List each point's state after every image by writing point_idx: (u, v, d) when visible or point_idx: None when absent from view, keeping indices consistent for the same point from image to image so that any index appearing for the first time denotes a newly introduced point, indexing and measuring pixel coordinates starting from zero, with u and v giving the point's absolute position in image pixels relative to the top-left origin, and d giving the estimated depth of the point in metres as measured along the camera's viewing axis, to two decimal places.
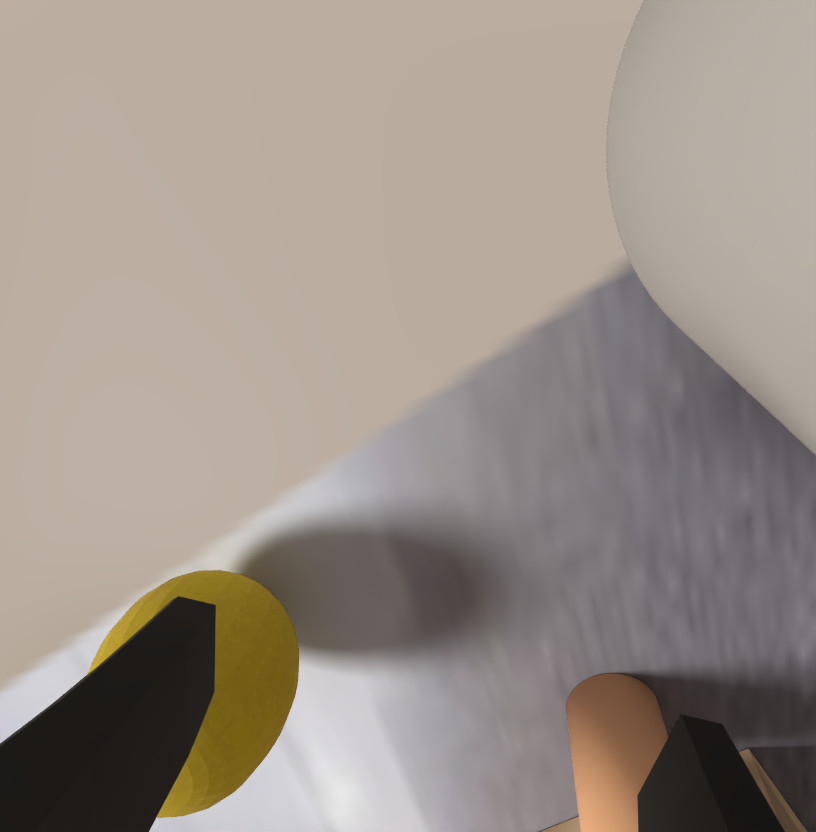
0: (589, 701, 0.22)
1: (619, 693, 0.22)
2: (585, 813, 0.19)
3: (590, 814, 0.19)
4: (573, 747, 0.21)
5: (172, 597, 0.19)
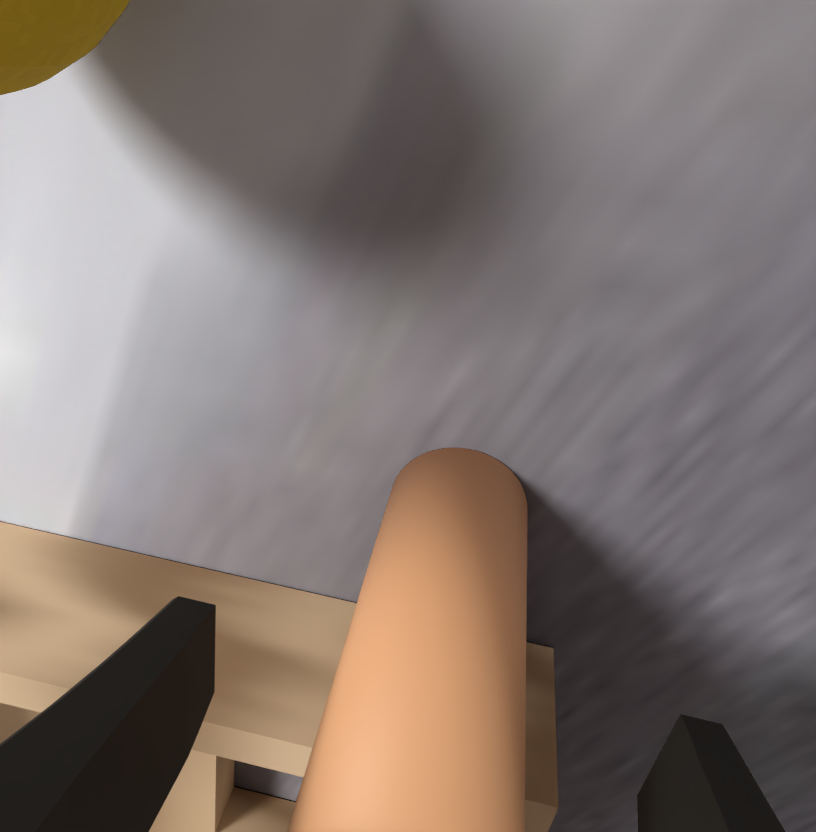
0: (462, 474, 0.14)
1: (507, 493, 0.14)
2: (390, 602, 0.11)
3: (402, 609, 0.11)
4: (404, 512, 0.13)
5: None
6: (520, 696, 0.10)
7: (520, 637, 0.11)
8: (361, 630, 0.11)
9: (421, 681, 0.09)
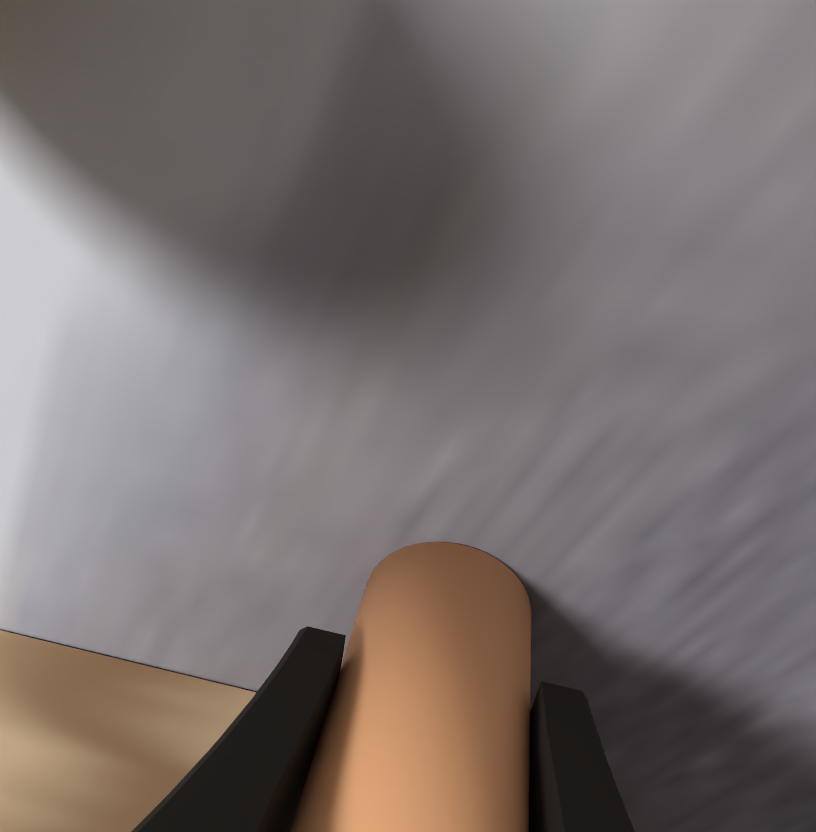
0: (450, 583, 0.11)
1: (506, 605, 0.11)
2: (346, 792, 0.08)
3: (361, 807, 0.08)
4: (375, 637, 0.10)
5: None
6: None
7: (520, 831, 0.08)
8: (307, 831, 0.08)
9: None
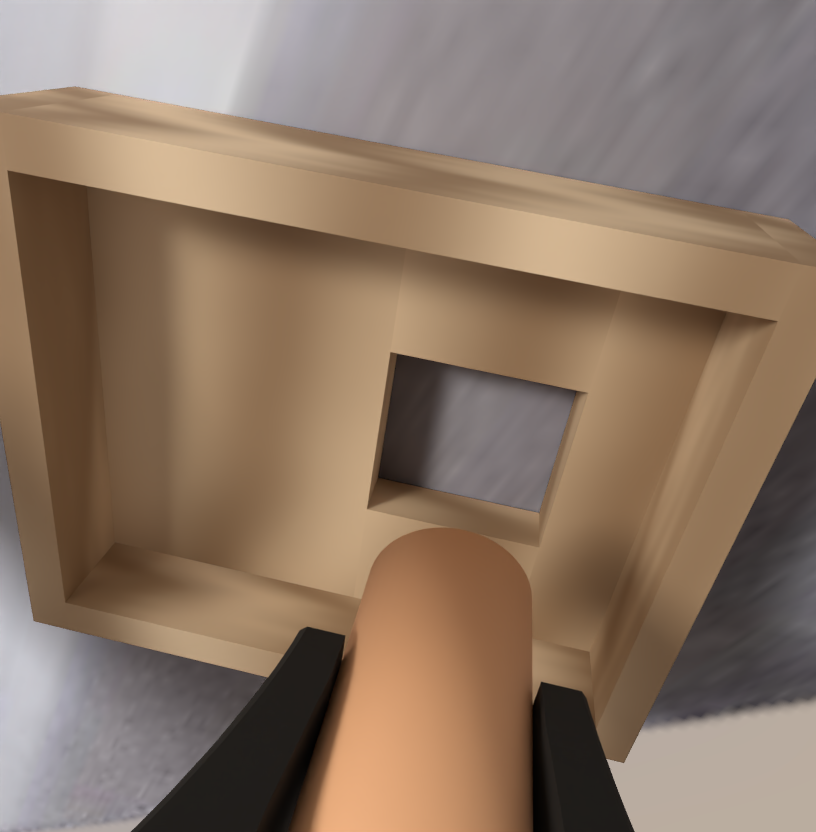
0: (456, 565, 0.11)
1: (510, 589, 0.11)
2: (358, 755, 0.08)
3: (373, 768, 0.08)
4: (382, 614, 0.10)
5: None
6: None
7: (527, 801, 0.09)
8: (319, 792, 0.08)
9: None
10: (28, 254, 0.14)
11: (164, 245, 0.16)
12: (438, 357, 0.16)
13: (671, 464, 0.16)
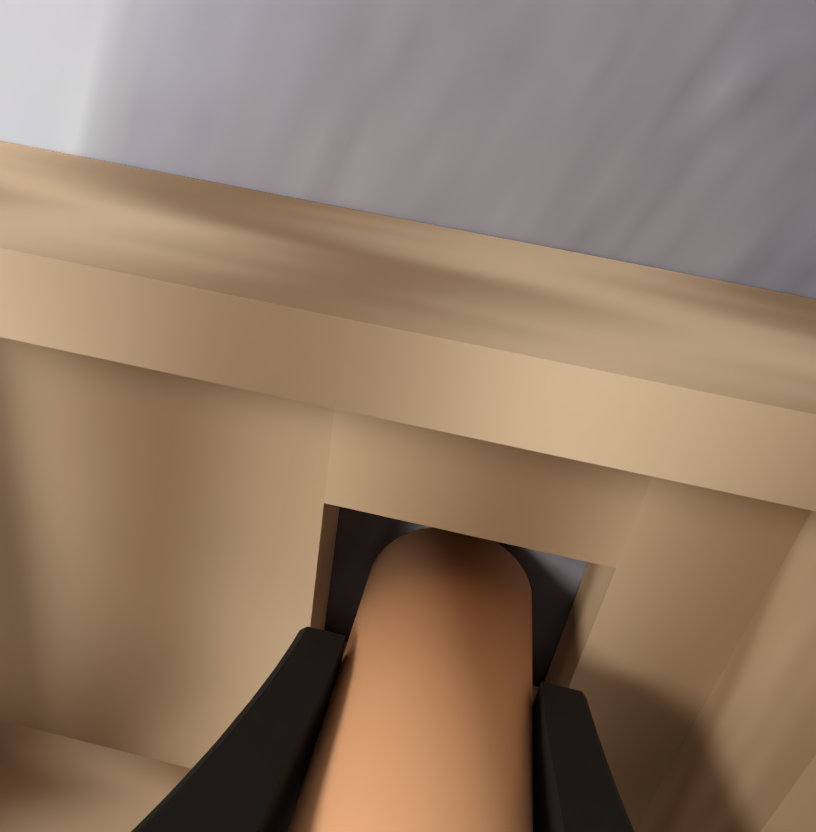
0: (456, 565, 0.11)
1: (510, 589, 0.11)
2: (359, 754, 0.08)
3: (374, 767, 0.08)
4: (382, 613, 0.11)
5: None
6: None
7: (526, 800, 0.09)
8: (319, 791, 0.08)
9: None
10: None
11: None
12: (394, 512, 0.11)
13: (738, 673, 0.11)
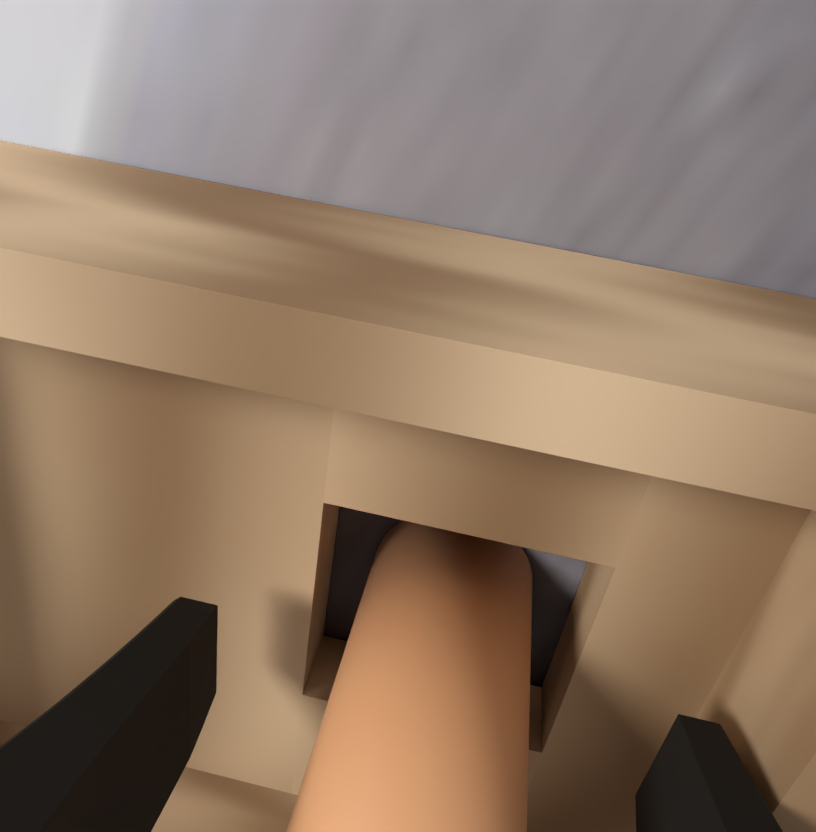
0: (458, 548, 0.12)
1: (510, 571, 0.12)
2: (364, 728, 0.09)
3: (376, 740, 0.09)
4: (387, 594, 0.11)
5: None
6: None
7: (521, 772, 0.09)
8: (326, 762, 0.09)
9: None
10: None
11: None
12: (393, 512, 0.11)
13: (738, 672, 0.11)
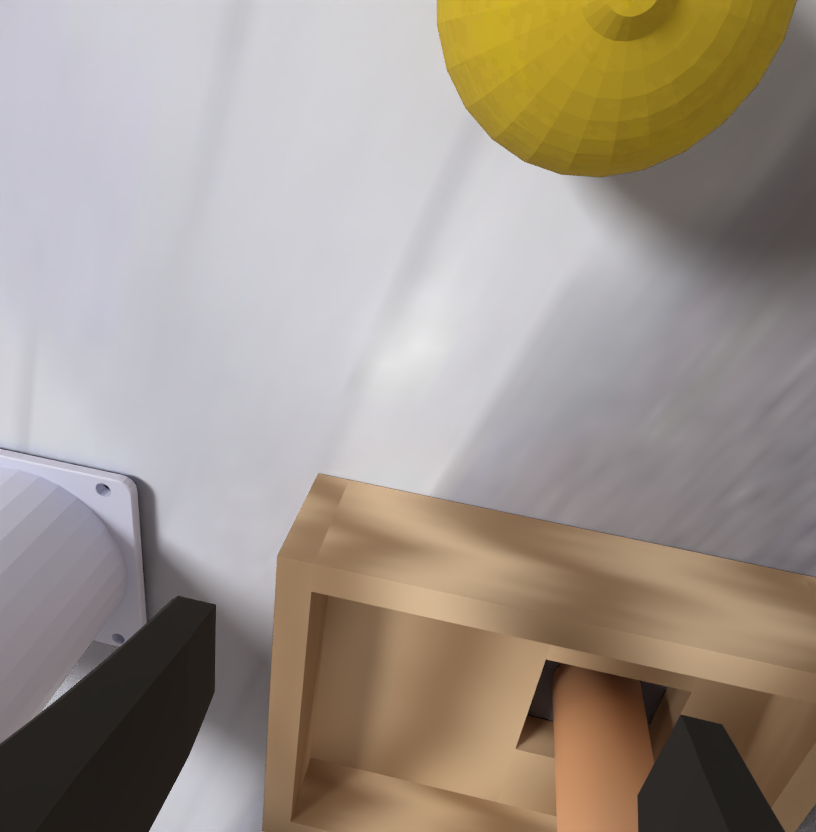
0: (609, 677, 0.23)
1: (635, 688, 0.23)
2: (591, 775, 0.20)
3: (600, 781, 0.20)
4: (579, 704, 0.22)
5: None
6: None
7: None
8: (576, 791, 0.20)
9: (623, 831, 0.18)
10: (310, 627, 0.20)
11: None
12: (581, 664, 0.22)
13: (752, 742, 0.22)
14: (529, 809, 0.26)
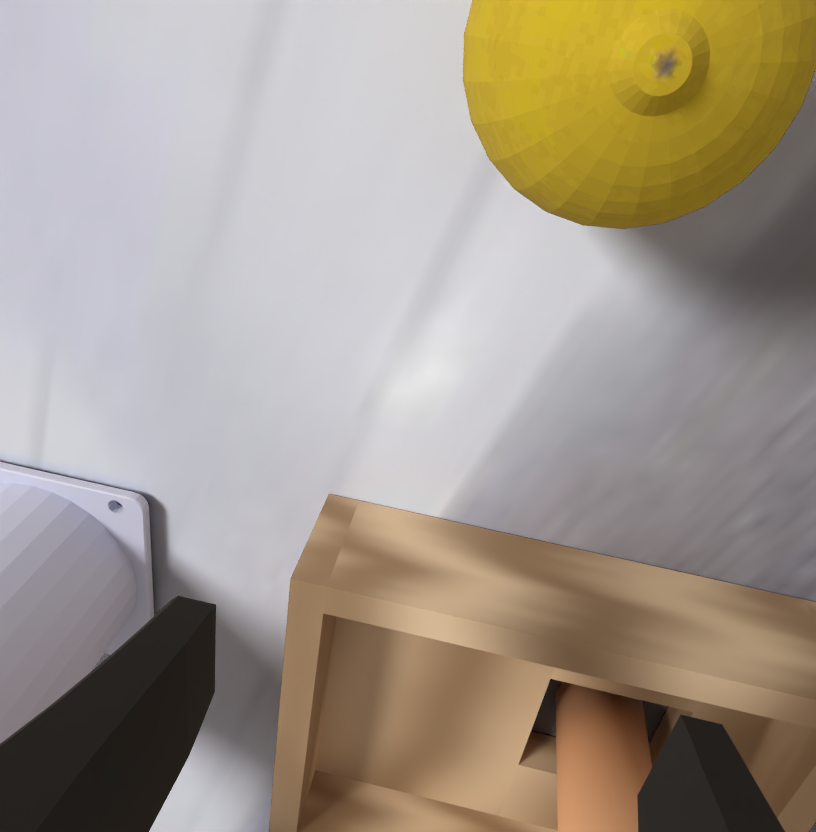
0: (612, 696, 0.23)
1: (637, 707, 0.23)
2: (593, 793, 0.20)
3: (602, 799, 0.20)
4: (581, 722, 0.23)
5: None
6: None
7: None
8: (578, 808, 0.20)
9: None
10: (321, 647, 0.20)
11: None
12: (585, 684, 0.22)
13: (751, 762, 0.22)
14: (531, 823, 0.26)
